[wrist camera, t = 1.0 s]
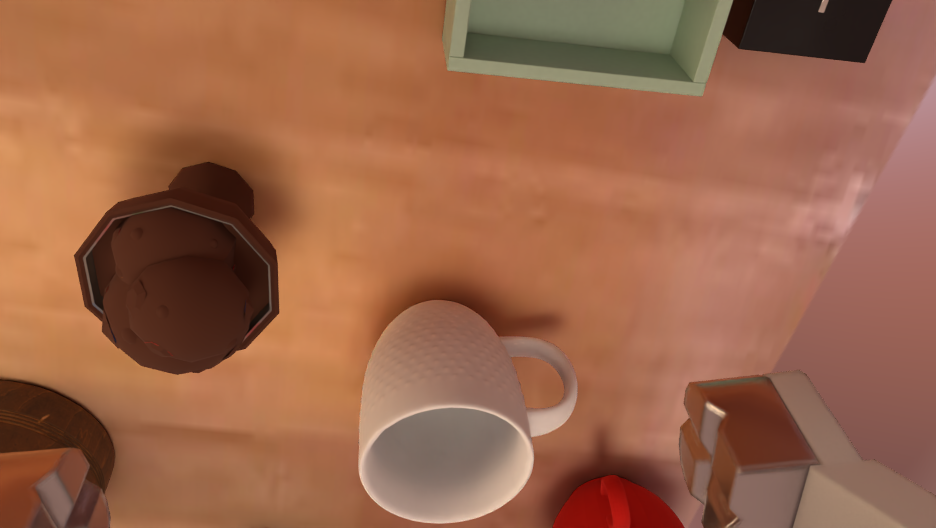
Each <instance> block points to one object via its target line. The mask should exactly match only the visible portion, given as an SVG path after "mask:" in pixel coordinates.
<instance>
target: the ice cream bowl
mask: <svg viewBox="0 0 936 528" xmlns="http://www.w3.org/2000/svg"><path fill="white" fill-rule="evenodd" d="M253 215H254V199H253V190H252V189H251V188H250V187H249V186H248V185H247V183H246V182H245V181H244V180H243V179H242V178H241V176H240V175H239V174H238V173H237V172H236V171H234V170H231V169H228V168H225V167H222V166H219V165H216V164H213V163H210V162H207V163H203V164H199V165H194V166H190V167H185V168H182V170H181V171H180V172H179V174H178V175H177V176H176V177H175V179H174V180H173V181H172V183H171V184H170V185H169V190H167V191H162V192H158V193H154V194H149V195H145V196H140V197H136V198H132V199H128V200H125V201H121V202H118V203H117V204H116V205H114V206H113V207H112V208H111V209H110V210H108V211H107V212H106V213H105V215H104V216H103V217H102V219H101V220H100V221H99V223H98V224H97V225H96V227H95V228H94V229H93V231H92V232H91V233H90V235H89V236H88V238H87V239H86V240H85V242H84V243H83V244H82V246H81V247H80V248H79V250H78V251H77V252H76V254H75V255H74V257H75V262H76V266H77V271H78V276H79V281H80V285H81V290H82V295H83V300H84V305H85V307H86V308H87V309H88V310H89V311H91V312H92V313H93V314H94V315H95V316H96V317H97V318H99V319H100V320H101V321H102V332H103V333H104V334H105V335H106V336H107V337H108V338H109V340H110V341H111V342H112V343H113V344H114V345H115V346H116V347H117V348H118V349H119V348H120V349H121V350H122V351H124V352H125V353H126V354H127V355H128V356H130V357H131V358H132V359H133V360H135V361H136V362H137V363H138V364H140V365H141V366H144V367H148V368H152V369H156V370H160V371H164V372H168V373H172V374H177V375H178V374H183V373H189V372H193V373H200V372H202V371H204V370H205V369H210V368H212V367H214V366H216V365H217V364H219V363H220V362H222V361H223V360H225V359H227V358H229V357H230V356H232V355H233V354H234V353H235V351H238V350H243V349H246V348H247V347H248V346H249V345H250V344H251V342H252V341H253V340H254V339H255V338H256V337H257V336H258V335H259V334H260V333H261V332H262V331H263V330H264V329H265V328H266V326H267V325H268V324H269V323H270V322H271V321H272V320H273V319H274V318H275V317H276V316H277V315H278V314H279V292H278V263H277V256H276V250H275V249H274V247H273V246H272V244H271V243H270V241H269V240H268V239H267V238H266V237H265V236H264V235H263V233H262V232H261V231H260V230H259V229H258V228H257V227H256V226H255V224H254V223H253V222H252V221H251V220H250V218H251V217H252V216H253Z"/></svg>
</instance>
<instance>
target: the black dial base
mask: <svg viewBox="0 0 936 528" xmlns="http://www.w3.org/2000/svg"><path fill="white" fill-rule="evenodd" d="M891 1H892V0H733V2H732V5H731V9H730V12H729V15H728V18H727V21H726V24H725V27H724V30H723V33H722V34H723V35H724V36H725V37H726V38H728V39H729V40H730V41H731V42H732V43H733V44H734V45H735V46H736V47H737V48H738V49H745V50H754V51H763V52H771V53H780V54H789V55H798V56H807V57H816V58H824V59H833V60H842V61H851V62H860V63H865V61H866V59H867V57H868V54H869V52H870V50H871V48H872V45H873V43H874V41H875V38H876V36H877V34H878V31H879V29H880V27H881V24H882V22H883V20H884V18H885V15H886V13H887V11H888V8H889V6H890V4H891Z"/></svg>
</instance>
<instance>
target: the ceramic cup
mask: <svg viewBox="0 0 936 528" xmlns="http://www.w3.org/2000/svg"><path fill="white" fill-rule="evenodd" d="M553 528H684V526H683V524H682V523H681V521H680V520H679V518H678V517H677V516H676V514H675V513H674V512H673V511H672V510H671V509H670V507H669V506H668V505H667V504H666V503H665V502H663V501H662V500H661V499H660V498H659V497H658V496H657V495H655V494H654V493H652V492H650V491H649V490H647V489H645V488H644V487H642V486H640V485H637V484H634V483H632V482H630V481H629V480H627V479H624V478H620V477H618V476H616V475H608V476H605V477H600V478H596V479H593V480H590V481H588V482H586V483H584V484H582V485H581V486H579V487H578V488H577V489H576V490H575V491H574V492H573V493H572V494H571V496H570V498H569V499H568V500H567V501H566V503H565V504H564V505H563V507H562V509H561V510H560V512H559V514H558V515H557V517H556V519H555V522H554V525H553Z"/></svg>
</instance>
